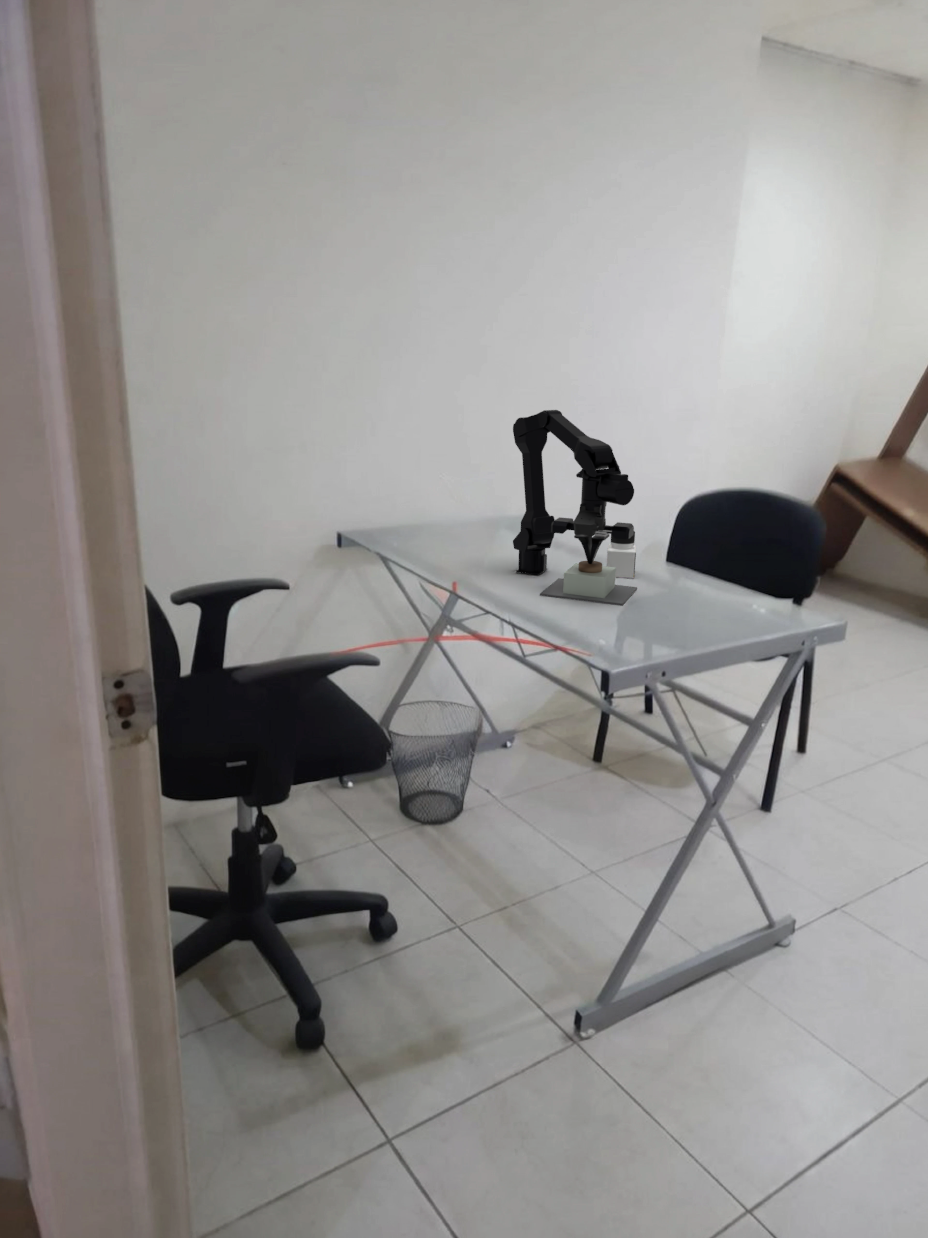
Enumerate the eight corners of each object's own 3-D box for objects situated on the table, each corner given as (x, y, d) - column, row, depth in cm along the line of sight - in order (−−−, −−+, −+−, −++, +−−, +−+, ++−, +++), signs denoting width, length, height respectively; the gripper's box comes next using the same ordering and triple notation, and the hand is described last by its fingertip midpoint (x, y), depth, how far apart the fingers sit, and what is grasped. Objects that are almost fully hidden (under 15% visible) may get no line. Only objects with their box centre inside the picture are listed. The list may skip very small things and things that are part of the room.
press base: (539, 595, 205) (540, 573, 203) (558, 580, 218) (559, 558, 216) (622, 605, 197) (624, 582, 196) (637, 589, 211) (638, 567, 209)
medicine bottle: (634, 578, 220) (637, 532, 216) (605, 577, 221) (608, 531, 217) (634, 571, 226) (637, 526, 223) (607, 570, 228) (609, 525, 224)
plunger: (574, 591, 206) (575, 564, 204) (581, 585, 211) (582, 559, 209) (597, 594, 204) (598, 567, 202) (603, 588, 209) (604, 562, 207)
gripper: (544, 501, 197) (542, 567, 202) (625, 507, 190) (621, 575, 195) (559, 493, 207) (556, 556, 212) (636, 499, 200) (632, 564, 205)
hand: (590, 563), depth 206 cm, fingers closed, pressing on plunger
